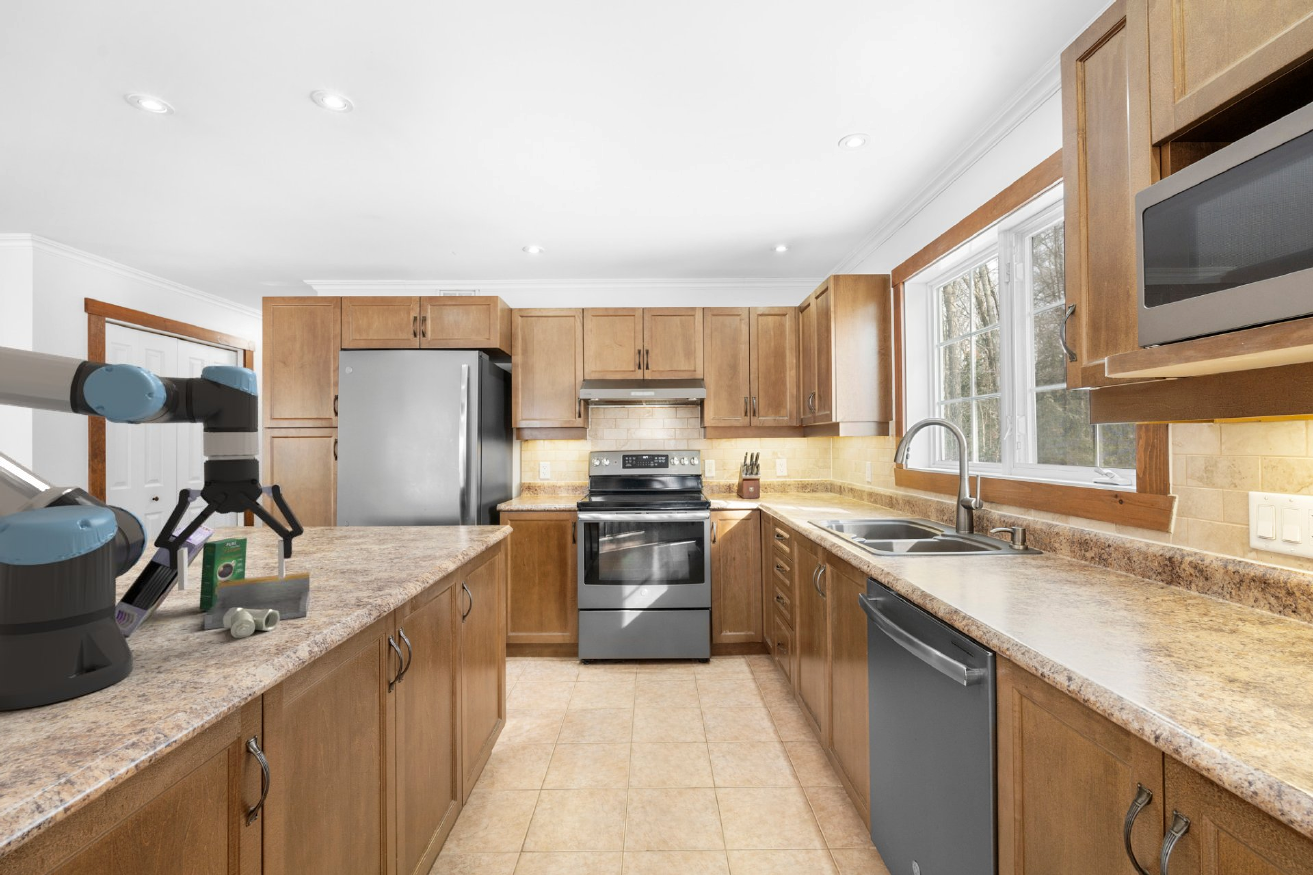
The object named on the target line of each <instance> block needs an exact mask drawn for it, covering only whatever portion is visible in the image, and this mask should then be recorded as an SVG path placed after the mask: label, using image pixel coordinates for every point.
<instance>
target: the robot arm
mask: <svg viewBox="0 0 1313 875" xmlns="http://www.w3.org/2000/svg"><path fill="white" fill-rule="evenodd" d="M0 405H2V406H11V407H20V408H25V409H26V408H28V409H34V410H36V409H37V410H43V411H44V410H45V411H53V412H60V413H67V414H68V413H69V414H77V415H81V416H82V415H83V416H90V417H97V418H105V419H106V420H107V421H108V422H111V423H114V424H129V425H141V424H182V423H183V424H200V423H201V424H202V426H203V430H202V432H203V434H202V437H203V438H202V439H203V440H202V444H203V446H202V447H203V448H202V449H203V456H204V457H205V458H208V459H207V460H204V462H203V483H204V484H203V488H202V489H192V488H189V487H186V488H182V489H180V490H179V494H178V501H177V503H176V505H175V508H174V509H173V510H172V512H171V513H170V515H169V517H168V519H167V520H166V522H165V524H164V525H163V528H162V529H161V531H160V532H159V534H158V536H157V537H156V539H155V541H154V542H153V546H154V547H155V548H158V549H159V548H165V549H167V550H169V563H170V569H171V570H176V569H178V582H177V590H178V592H179V591H180V592H181V591H185V590H186V589H187V588H188V587H189V567H188V554H187V548H181V546H182V545H183V544H184V542H185V541H186V540H187V539H188V538H189V537H190V536H191V535H192V534H193V533H194V532H195V531H196V530H197V529H198V528H199V527H200V526H201V525H202V524H203V525H204V523H205V522H206V521H207V520H208V519H210V517H211V516H212V515H213V514H214V513H215V512H216V513H218V514H221V515H224V514H225V515H226V514H230V513H236V514H242V513H244V512H247V511H250V512H252V514H254V515H255V516H256V517H258V518H259V519H260V520H261V521H262V522H263V523H264V524H265V525H267V526H268V527H269V528H270V529H271V530H272V531H273V532H275V534H277V535H278V536H279V537H280V538H282V539H279V540H278V541H277V562H278V566H277V567H278V568H277V569H278V571H277V572H278V575H279V579H284V577H285V575H286V559H291V558H292V556H293V539H294V538H297V537H300V536H302V535H303V533H304V532H305V529H304V528H303V526H302V524H301V523H300V522H299V520H298V518H297V517H296V515H295V514H294V511H292V509H291V506H289V503H288V502H287V501H286V499H285V497H284V496H283V490H282V485H281V484H279V483H276V484H274V485H267V486H262V485H261V483H260V461H259V460H258V458H256V457H255V456H259V454H260V452H259V451H260V450H259V448H260V446H259V394H258V382H257V374H256V372H254V371H253V370H252V369H251V368H248V367H244V366H233V365H207V366H204V367H203V368H202V370H201V374H200V377H173V376H172V377H171V376H160V375H157V374H155V373H153V372H152V371H150V370H147V369H146V368H144V367H140V366H137V365H132V364H126V363H125V364H124V363H119V364H118V363H116V364H114V363H113V364H112V363H105V362H101V361H100V362H99V361H92V360H86V359H81V358H77V357H76V358H74V357H69V356H63V355H56V354H50V353H43V352H37V351H32V350H31V351H30V350H27V349H19V348H12V347H7V346H2V345H1V346H0ZM263 494H266V495H267V497H268V498H270V499H273V502H274V503H275V504H276V507H277V508H278V509H279V511H280V513H281V514H282V515H283V517H284V518H285V520H286V522H287V524H288V526H290V528H291V530H289V529H288V528H287V527H285V526H284V525H283V523H281V522H280V521H279V520H278V519H276V518H275V517H274V516H273V515H272V514H271V513H270V512H269V511H267V509H265V508H264V507H263V505H261V503H260V502H258V501H257V500H258V499H259V498H260V497H261V496H262V495H263ZM198 497H201V499H203V501H204V502H205V503H206V504H208V505H207V506H205V507H204V508H203V510H201V512H200V513H199V514H198V515H197V516H196V517H195V518H194V519H193V520H192V522H191V521H190V522H191V523H190V522H189V523H190V524H189V523H188V524H189V525H188V526H187V527H186V528H185V529H184V530H183V531H182V532H181V533H180V534H179V535H178V536H177V537H176V538H175V540H174V541H173V540H169V539H170V537H171V536H172V534H173V532H175V531H176V529H177V527H178V525H179V524H180V522H181V520H182V518H183V517H184V515H185V514H186V512H187V510H188V509H189V507H190V505H191V503H193V502H195V501H196V500H197V498H198ZM147 545H148V532H147V528H146V526H145V524H144V523H143V521H142V520H141V519H140V518H139V517H138V516H137V515H136V514H135V513H134V512H132V511H130V510H128V509H125V508H123V507H120V506H116V505H113V504H106V502H104V501H102V500H101V499H99V498H97V497H95V496H94V495H92V494H90V493H89V492H88V491H86V490H84V489H83V488H81V487H80V486H77V485H76V486H75V485H74V486H56V485H55V484H53V483H51V482H50V481H49V480H47V479H45V478H44V477H42V476H40V475H39V474H37V473H35V472H33V471H32V470H31V469H29V468H27V467H26V466H24V465H23V464H21V463H20V462H18V461H16V460H15V459H13V458H12V457H10V456H9V455H7V454H5V453H3V451H0V712H4V711H12V710H13V711H14V710H21V709H26V708H28V709H29V708H32V707H38V706H43V705H48V704H52V703H58V702H62V701H65V700H69V699H73V698H76V697H80V696H83V695H86V694H90V693H93V692H95V691H99V690H102V689H104V688H106V687H109V686H112V685H113V684H115V683H118V682H120V681H121V680H123V679H126V677H128V676H129V675H131V673H132V672H133V670H134V666H133V665H134V662H133V661H134V660H133V652H132V649H131V648H130V645H129V643H128V641H127V639H126V636H125V635H123V632H122V630H121V628H120V626H119V624H118V622H117V620H116V605H117V604H116V603H117V578H119V577H121V576H123V575H125V574H127V573H128V572H129V571H130V570H131V569H132V568H133V567H135V565H137V563H138V562H139V561H140V559H141V557H142V556H143V555H144V552H145V551H146V549H147Z"/></svg>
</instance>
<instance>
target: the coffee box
mask: <svg viewBox="0 0 1313 875" xmlns="http://www.w3.org/2000/svg"><path fill="white" fill-rule="evenodd" d="M247 542H248V538H247V537H244V536H243V537H242V536H236V537H235V536H234V537H229V538H223V539H220V540H219V539H218V540H213V541H207V542H205V543H204V545H203V548H202V562H201V563H202V564H201V566H202V567H201V580H200V581H201V582H200V595H199V610H200V611H206V612H208V611H209V609H210V608H211V607H212V606H213V605H214V603H215V602H216V601H217V583H218V582H219V581H225V580H236V579H246V563H247V562H246V560H247Z"/></svg>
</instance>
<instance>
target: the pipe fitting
mask: <svg viewBox="0 0 1313 875" xmlns="http://www.w3.org/2000/svg"><path fill="white" fill-rule="evenodd" d="M280 621H281V620H280V616H279V611H276V610H271V609H263V610H255V609H243V608H235V607H232V608H231V609H230V610H228V611H227V613H226V614H225V615H224V617H223V624H224V627H223V628H225V629H230V635H231V636H232V637H234V638H235V639H241V638H247V637H250V636H252V635H253V634H254V632H255V630H257V631H263V632H264V631H265V632H266V631H267V632H272V631H273V630H275V629H276V627H278V625H279V623H280Z"/></svg>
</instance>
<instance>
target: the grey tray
mask: <svg viewBox="0 0 1313 875" xmlns="http://www.w3.org/2000/svg"><path fill="white" fill-rule="evenodd" d="M310 577H311V572H310V571H308V572H298V573H287V574H286V573H285V577H284V579H279V574H278V575H277V574H276V575H267V576H257V577H247V578H246V577H245V579H236V580H225V581H219V582H218V583H217V601H216V602H215V603H214V605H213V606H212V607H211V608H210V609H209V611H206V613H205V615H204V630H205V631H206V630H213V629H220V628H224V624H223V617H224V615H225V614H226V613H227V611H228V610H230V609H231V608H232V607H235V608H243V609H255V610H263V609H271V610H276V611H279V616H280V620H279V621H281V620H289V619H297V618H304V617H305V618H306V617H307V614H308V610H309V605H310V602H311V600H310V598H311V596H310V594H311V592H310V588H311V587H310V586H311V585H310V584H311V582H310V581H311V580H310Z"/></svg>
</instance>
